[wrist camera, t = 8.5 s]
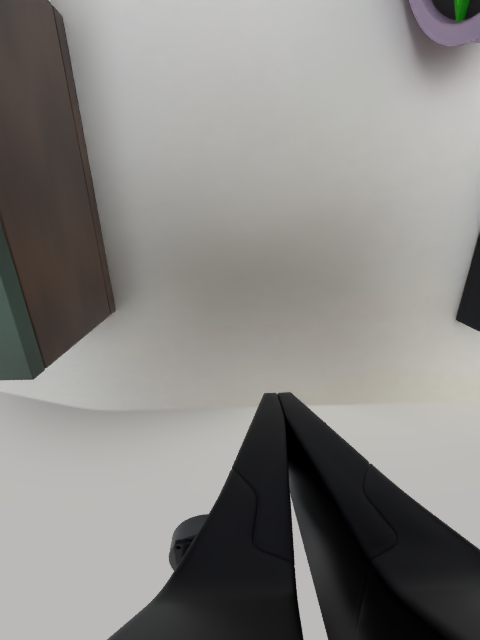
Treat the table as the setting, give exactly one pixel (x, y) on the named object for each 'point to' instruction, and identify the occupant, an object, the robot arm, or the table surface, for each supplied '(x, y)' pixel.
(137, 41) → the table surface
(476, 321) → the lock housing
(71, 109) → the frame box
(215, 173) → the table surface
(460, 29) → the headphones
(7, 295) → the green box lid
